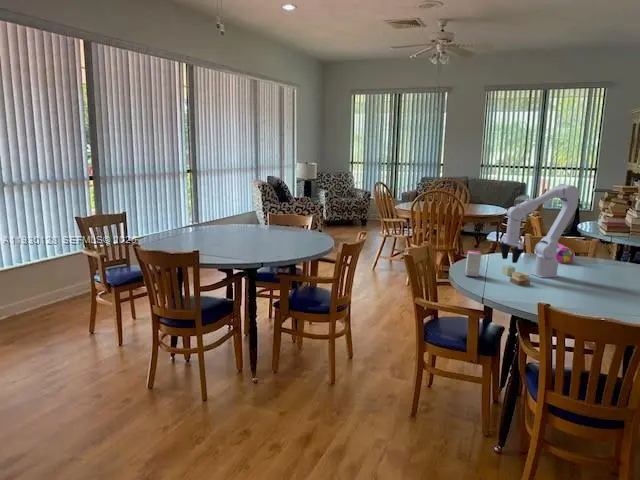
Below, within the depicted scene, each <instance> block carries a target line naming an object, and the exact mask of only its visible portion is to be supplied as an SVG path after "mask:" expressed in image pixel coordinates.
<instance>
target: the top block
mask: <svg viewBox="0 0 640 480" xmlns="http://www.w3.org/2000/svg"><path fill="white" fill-rule="evenodd" d="M512 272H516V266H513V265H502V271H501V274H502V275H503V276H507V277H512Z"/></svg>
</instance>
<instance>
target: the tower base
mask: <svg viewBox="0 0 640 480" xmlns="http://www.w3.org/2000/svg"><path fill="white" fill-rule="evenodd" d="M509 283H511V284H513V285H516V286H517V287H518V286H519V287H520V286H530V284H531V280H530V279H529V280H527V281H518V280H516V279H513V278H512V276H509Z"/></svg>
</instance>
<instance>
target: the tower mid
mask: <svg viewBox="0 0 640 480" xmlns="http://www.w3.org/2000/svg"><path fill="white" fill-rule="evenodd" d="M511 277H512V278H513V279H516V280H518V281H527V280H530V274H528V273H525V272H523V271H515V272H512V276H511Z"/></svg>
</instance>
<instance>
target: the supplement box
mask: <svg viewBox="0 0 640 480" xmlns="http://www.w3.org/2000/svg"><path fill="white" fill-rule="evenodd" d="M466 253H467V254H466V260H465V261H466V263H465V267H464V268H465V269H464V270H465V271H464V275H465V278H477V279H478V278H479V275H480V267H481V257H482V253H481V251H477V250H467V251H466Z"/></svg>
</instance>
